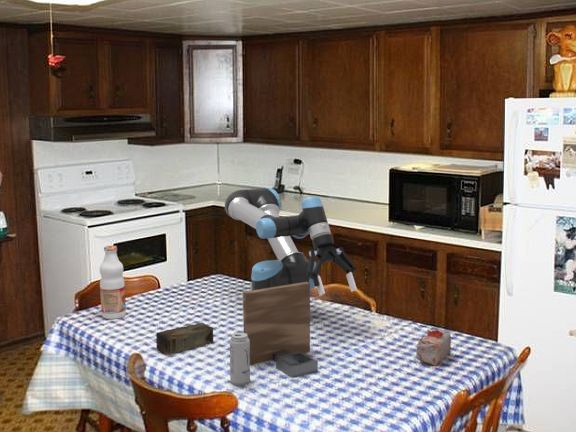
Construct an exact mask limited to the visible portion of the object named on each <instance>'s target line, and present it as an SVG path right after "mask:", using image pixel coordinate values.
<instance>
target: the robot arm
mask: <svg viewBox="0 0 576 432" xmlns="http://www.w3.org/2000/svg"><path fill="white" fill-rule="evenodd" d="M280 200H281V197H280V195H279V194H278V192H277V191H276V190H275V189H274V188H271V187H261V188H254V189H253V188H250V189H238V190H235V191H233V192H231V193H230V194H229V195H228V196H227V197H226V198H225V202H224V211H225V212H226V214H227V215H228V217H231V219H234V220H236V221H241V222H243V223H245V224H247V225H249V226H250V227H252V228H253V229H255V230H256V234H257V236H258V237H259V238H260V239H263V240H264V239H267V240H268V243H269V244H270V246H271V249H272V251H273V253H274V255H275V256H276V259H269V260H267V259H266V260H263V261H260V262H257V263H255V264H254V265H253V266H252V269H251V276H250V278H251V291H252V290H258V289H265V288H271V287H277V286H283V285H289V284H295V283H302V282H309V283H310V291H311V290H313V289H315V287H316V288H317V293H318V295H319V296H318V297H322V296H323V295H324V294H326V291H325V288H324V285H323V282H322V281H323V280H322V277H321V276H320V275H319V273H320V270H321V268H322V265H323V263H328V262H329V263H330V262H331V263H334V264H336V265H337V266H338V267H339V268H341V269H342V270H343V271H344V272H345V273H346V275H345V277H346V279H347V283H348V285H349V289H350V293H351V292H354V291H356V290H357V289H358V288H357V285H356V277H355V273H354V272H355V271H357V270H358V268H357V266H356V265H355V263H354V262H353V261H352V260H351V258H350V257H349V256H348V255H347V253H346V252H345V250H344V247H342V246H341V247H339V248H336V247H335V242H334V238H333V235H332V233H331V228H330V224H329V221H328V219H327V215H326V212H325V208H324V205H323V203H322V200H321V198H320V197H318V196H317V195H316V196H315V195H314V196H309V197H306V198H304V199H303V200H302V201H301V203H300V205H301V206H300V207H301V212H300V213H299V214H297V215H288V216H287V215H286V216H285V215H284V216H280V211H281V207H282V204H281V203H282V201H280ZM308 235H309V236H310V240H312V242H311V243H312V246H313V249H311V250H310V251H308V253H307V255H308V259H307V257H306V255H305V253H303V252H300V251H298V249H297V247H296V245H295V243H294V241H293V239H292V237H293V238H295V239H298V240H299V239H303V238H305V237H307V236H308ZM316 257H317V258H318V259H317V261H315V260H316Z"/></svg>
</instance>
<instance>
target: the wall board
mask: <svg viewBox="0 0 576 432" xmlns="http://www.w3.org/2000/svg"><path fill="white" fill-rule="evenodd" d="M242 306H243V310H242V311H243V312H242V313H243V317H242V318H243V333H246V334H247V335H248V338H249V340H250V366H251V365H255V364H260V363H264V362H270V361H274V360H273V352H278V351H283V350H287V351H289V352H290V353H296V352H301V351H302V352H304V353H305V354H307V353H310V352H311V290H310V283H309V282H302V283H295V284H289V285H283V286H277V287H271V288H265V289H258V290H252V289H251V290H246V291H243V292H242Z"/></svg>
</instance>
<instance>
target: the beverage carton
mask: <svg viewBox="0 0 576 432" xmlns="http://www.w3.org/2000/svg"><path fill="white" fill-rule="evenodd" d="M155 334H156V335H155V336H156V337H155V340H156V342H155V344H156V347H155V348H156V350H158V351H160V352H161V353H162V354H164V355H165V356H169V355H172V354H176V353H180V352H183V351H184V350H185V351H189V350H192V349H196V348H199V346H200V347H203V346H202V345H204V346H207V345H210V343H211V344H213V343H214V327H212V326H209V325H208V324H206V323H205V322H199V323H196V324H190V325H185V326H181V327H176V328H172V329H166V330H163V331H158V332H156V333H155ZM206 344H207V345H206ZM195 347H196V348H195Z"/></svg>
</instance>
